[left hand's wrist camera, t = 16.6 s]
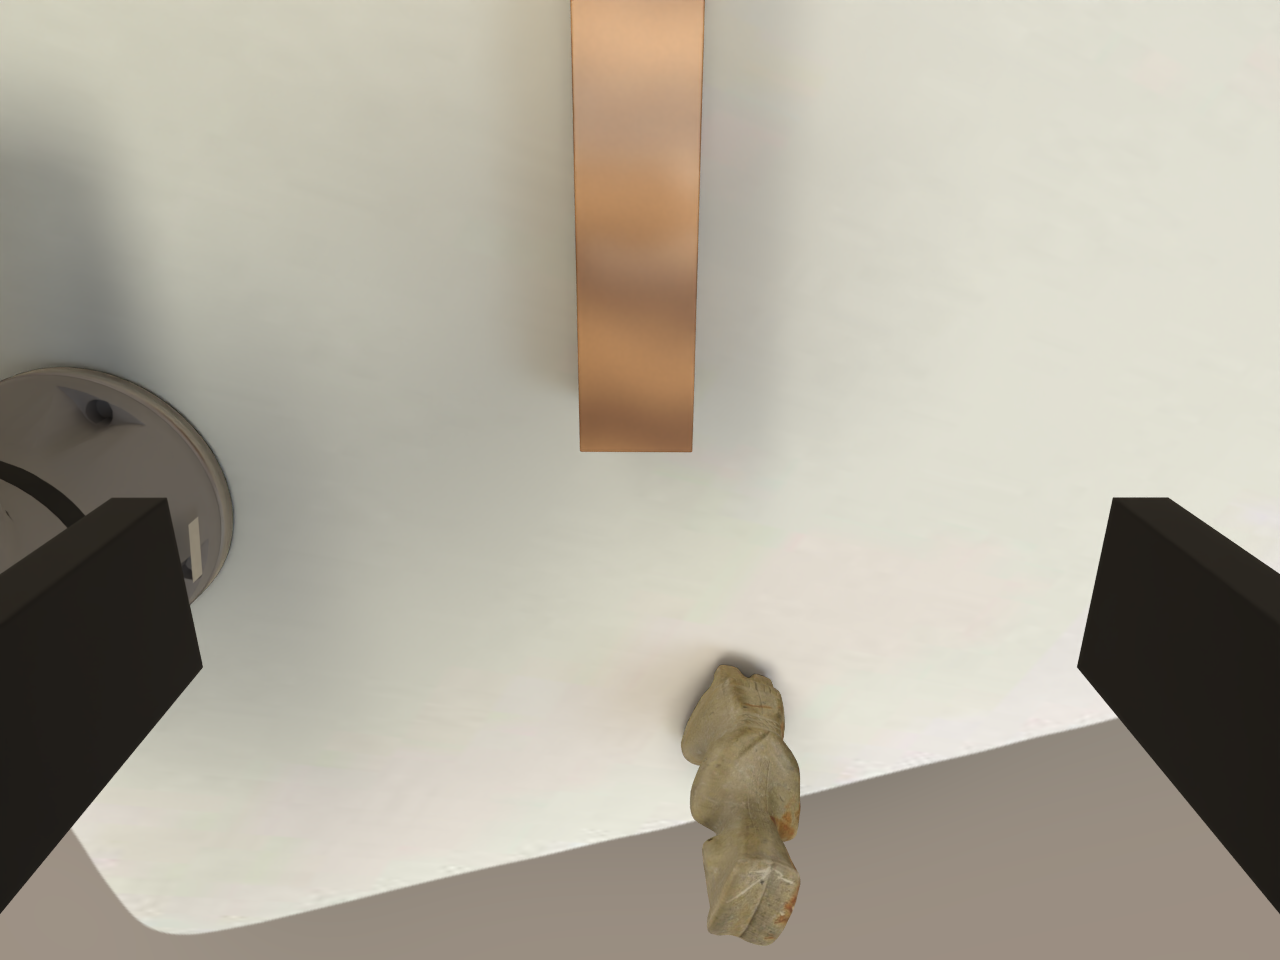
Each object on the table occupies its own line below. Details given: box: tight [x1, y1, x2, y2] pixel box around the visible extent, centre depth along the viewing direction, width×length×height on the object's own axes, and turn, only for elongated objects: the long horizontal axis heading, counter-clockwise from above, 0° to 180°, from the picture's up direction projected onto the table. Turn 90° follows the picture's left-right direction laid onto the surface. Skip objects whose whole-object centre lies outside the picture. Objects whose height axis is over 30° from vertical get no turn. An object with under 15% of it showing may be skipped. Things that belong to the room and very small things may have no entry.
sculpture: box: [681, 665, 800, 946], centre depth 47 cm, size 6×7×15 cm
